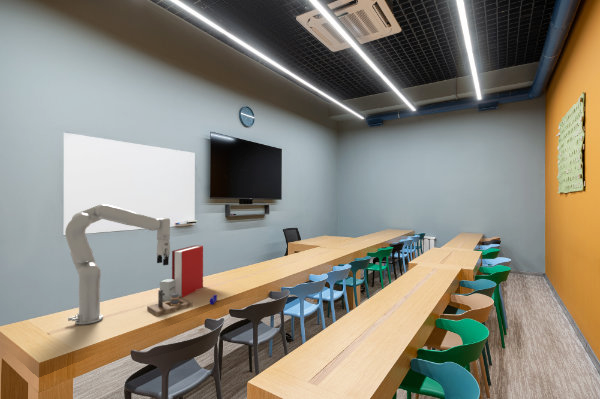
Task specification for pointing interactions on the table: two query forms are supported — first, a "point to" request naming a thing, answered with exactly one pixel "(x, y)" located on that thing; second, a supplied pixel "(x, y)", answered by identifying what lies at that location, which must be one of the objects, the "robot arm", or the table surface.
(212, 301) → the cable holder
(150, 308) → the brown base with post
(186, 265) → the book
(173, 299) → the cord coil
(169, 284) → the supplement box
